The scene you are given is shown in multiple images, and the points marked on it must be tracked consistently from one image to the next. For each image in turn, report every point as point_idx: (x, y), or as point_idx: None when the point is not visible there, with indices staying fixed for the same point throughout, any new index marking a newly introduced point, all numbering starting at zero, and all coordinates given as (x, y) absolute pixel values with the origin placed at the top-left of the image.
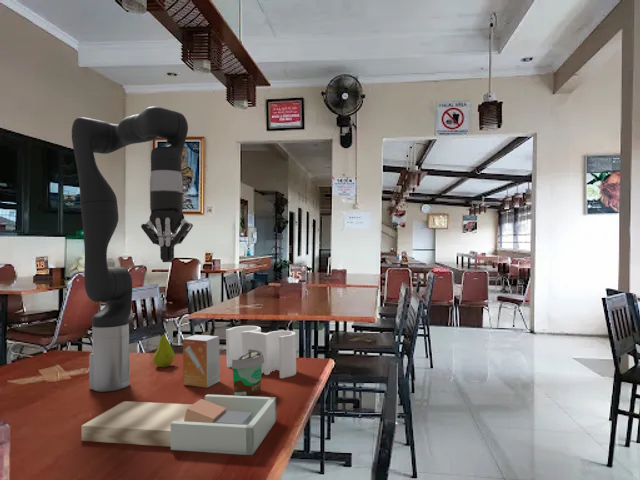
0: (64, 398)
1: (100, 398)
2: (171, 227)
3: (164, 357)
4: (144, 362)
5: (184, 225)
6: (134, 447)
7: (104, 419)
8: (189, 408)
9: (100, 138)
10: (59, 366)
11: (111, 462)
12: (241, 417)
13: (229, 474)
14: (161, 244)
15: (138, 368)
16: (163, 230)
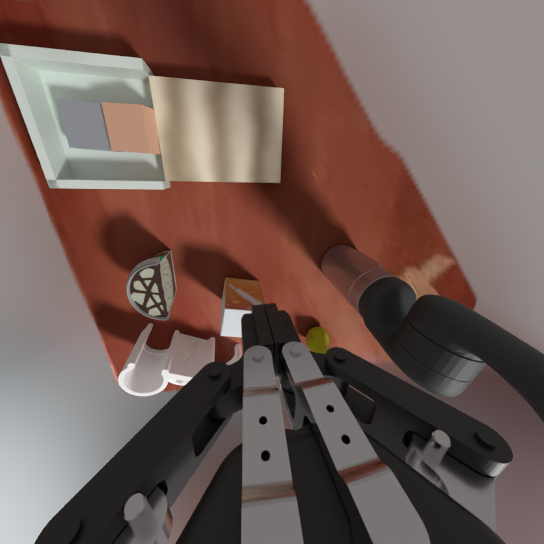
0: (370, 220)
1: (331, 226)
2: (241, 474)
3: (313, 333)
4: (342, 339)
5: (85, 527)
6: (204, 77)
7: (267, 113)
8: (140, 107)
9: None
10: None
11: (204, 26)
12: (73, 125)
13: None
14: (293, 347)
15: (338, 320)
16: (308, 434)
